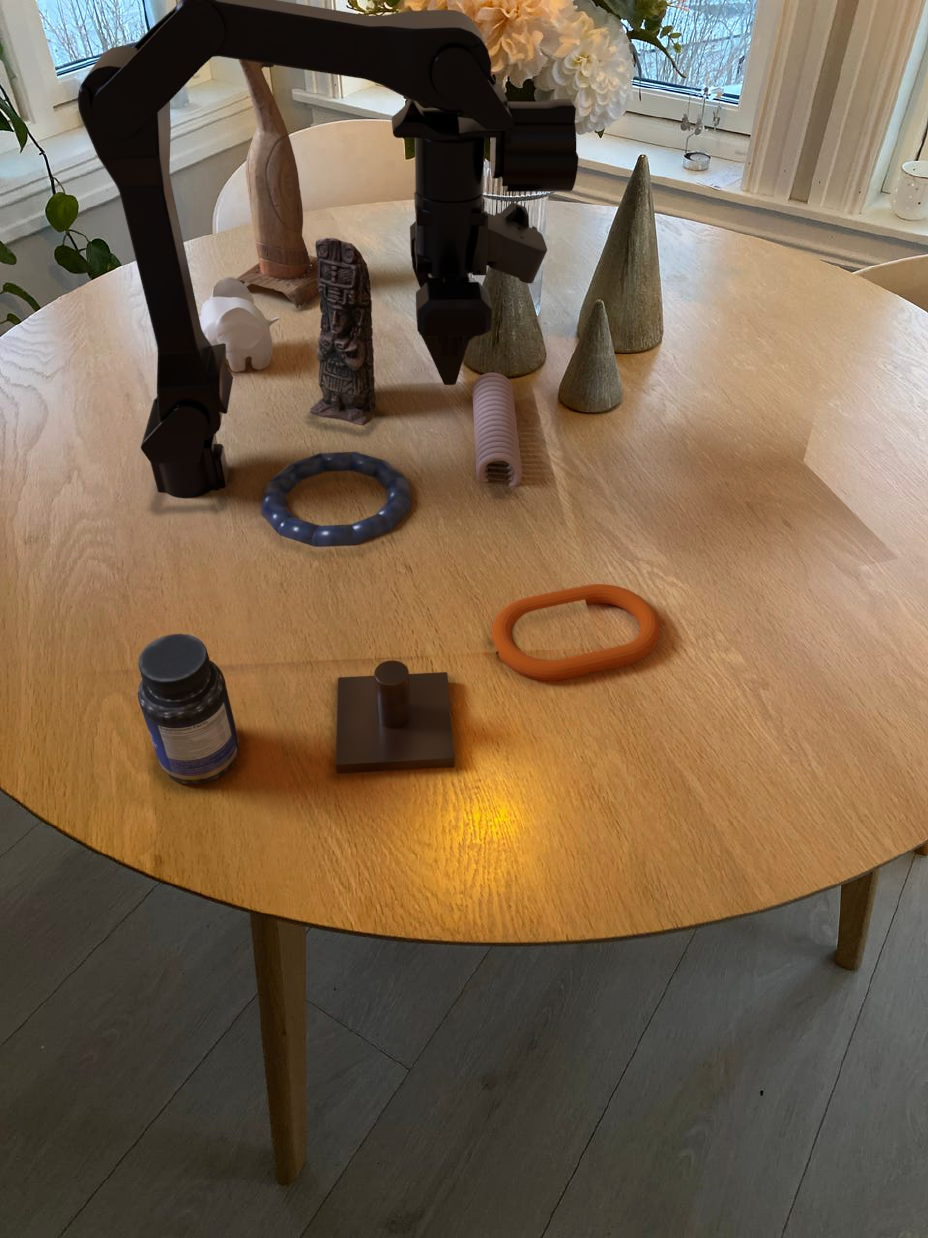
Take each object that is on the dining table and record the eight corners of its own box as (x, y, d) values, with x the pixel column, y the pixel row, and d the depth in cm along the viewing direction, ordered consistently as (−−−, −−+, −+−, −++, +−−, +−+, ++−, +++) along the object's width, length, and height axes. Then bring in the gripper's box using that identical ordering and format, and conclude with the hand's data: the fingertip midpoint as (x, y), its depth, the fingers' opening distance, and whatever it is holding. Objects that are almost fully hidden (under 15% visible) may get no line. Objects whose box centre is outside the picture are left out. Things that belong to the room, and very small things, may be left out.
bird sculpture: (342, 277, 136) (322, 17, 114) (299, 311, 129) (269, 39, 107) (275, 263, 140) (243, 7, 118) (229, 295, 132) (185, 28, 110)
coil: (526, 460, 96) (515, 370, 109) (479, 456, 95) (474, 366, 108) (518, 498, 99) (509, 406, 112) (474, 494, 99) (469, 402, 112)
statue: (308, 422, 109) (287, 247, 95) (337, 392, 113) (322, 222, 100) (362, 435, 107) (349, 259, 93) (389, 404, 112) (381, 232, 98)
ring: (258, 558, 91) (255, 538, 90) (269, 469, 102) (266, 450, 100) (414, 552, 92) (413, 532, 90) (408, 464, 103) (407, 445, 101)
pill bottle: (166, 727, 76) (135, 627, 68) (244, 723, 76) (221, 623, 69) (154, 790, 72) (119, 691, 64) (237, 785, 72) (212, 686, 64)
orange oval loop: (476, 603, 84) (632, 571, 88) (476, 617, 86) (629, 585, 89) (513, 681, 78) (680, 643, 81) (512, 695, 79) (677, 657, 82)
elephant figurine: (184, 349, 121) (169, 281, 114) (279, 337, 123) (270, 269, 117) (191, 387, 114) (176, 316, 108) (291, 373, 117) (282, 303, 110)
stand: (336, 774, 73) (329, 721, 69) (338, 686, 79) (332, 633, 75) (454, 767, 73) (455, 714, 69) (447, 681, 80) (447, 628, 76)
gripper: (560, 233, 74) (543, 410, 85) (530, 153, 88) (519, 314, 99) (417, 234, 74) (418, 412, 84) (408, 152, 87) (410, 315, 98)
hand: (446, 359), depth 91 cm, fingers open, 9 cm apart
